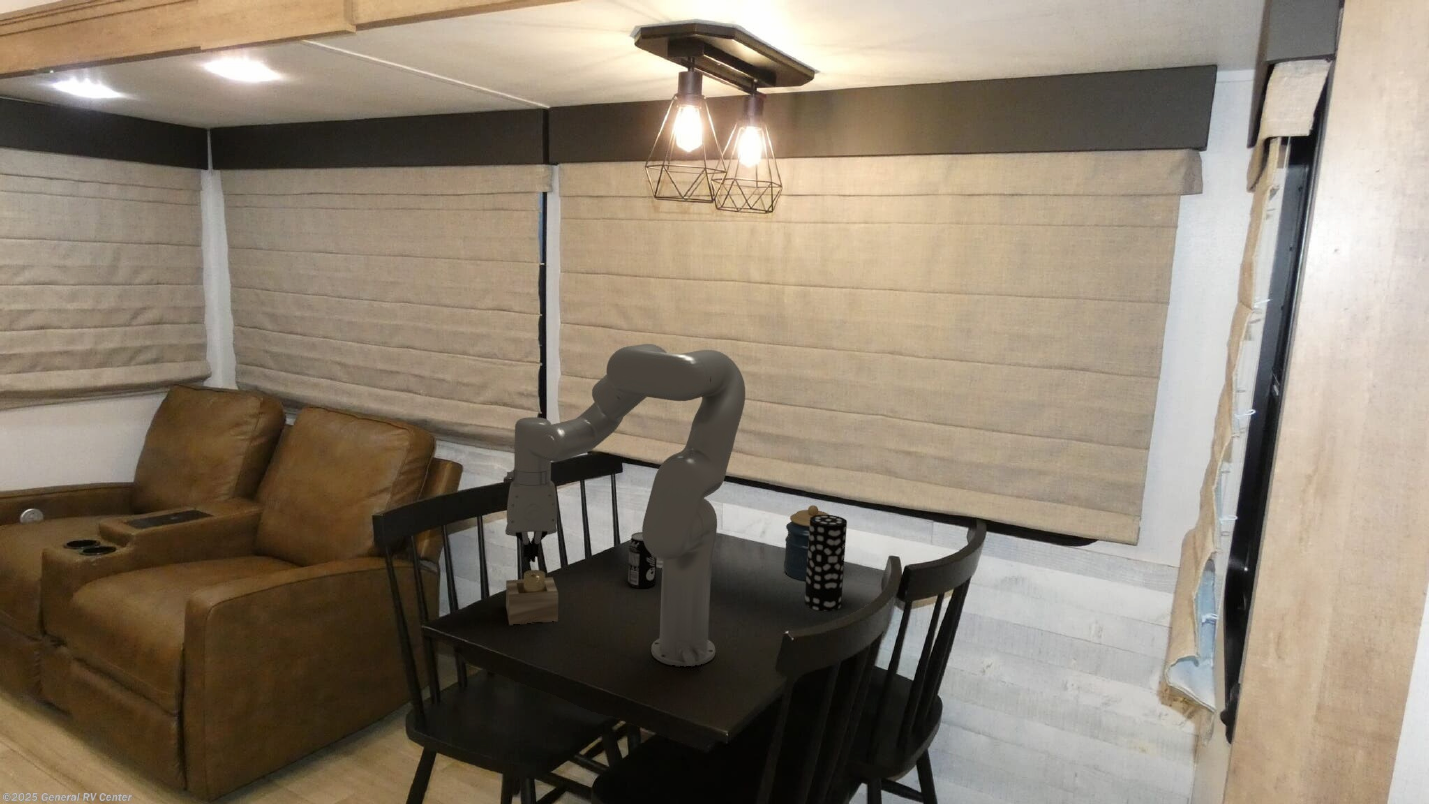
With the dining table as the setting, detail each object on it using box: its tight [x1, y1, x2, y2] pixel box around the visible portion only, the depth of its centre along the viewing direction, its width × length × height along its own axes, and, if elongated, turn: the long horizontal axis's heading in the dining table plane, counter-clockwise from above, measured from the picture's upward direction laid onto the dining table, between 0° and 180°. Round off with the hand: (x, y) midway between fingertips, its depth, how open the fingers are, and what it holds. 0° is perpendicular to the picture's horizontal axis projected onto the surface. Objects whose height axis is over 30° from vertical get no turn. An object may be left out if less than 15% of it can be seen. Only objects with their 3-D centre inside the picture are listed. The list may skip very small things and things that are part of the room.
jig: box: [505, 576, 559, 626], centre depth 181 cm, size 10×10×6 cm
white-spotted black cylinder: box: [804, 514, 848, 612], centre depth 193 cm, size 8×8×20 cm
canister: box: [783, 504, 830, 581], centre depth 212 cm, size 13×13×18 cm
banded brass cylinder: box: [523, 569, 546, 593], centre depth 181 cm, size 4×4×8 cm
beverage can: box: [627, 531, 657, 589], centre depth 200 cm, size 7×7×12 cm
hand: (530, 559), depth 180 cm, fingers closed
